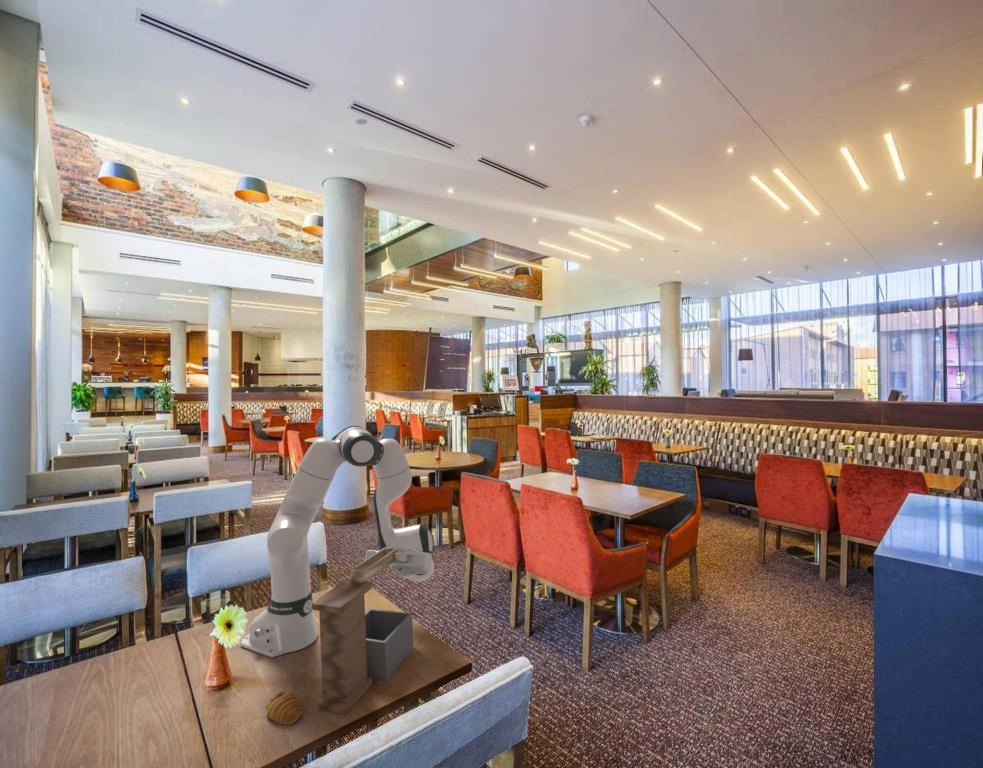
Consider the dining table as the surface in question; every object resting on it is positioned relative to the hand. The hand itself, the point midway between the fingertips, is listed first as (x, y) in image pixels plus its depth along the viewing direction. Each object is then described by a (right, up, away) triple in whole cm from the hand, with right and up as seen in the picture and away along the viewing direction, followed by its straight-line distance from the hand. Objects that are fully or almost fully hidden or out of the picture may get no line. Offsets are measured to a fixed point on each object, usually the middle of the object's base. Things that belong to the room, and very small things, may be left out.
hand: (386, 555), depth 142 cm
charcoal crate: (-1, -28, -6) cm, 28 cm away
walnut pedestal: (-6, -28, -20) cm, 35 cm away
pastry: (-18, -29, -26) cm, 43 cm away
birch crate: (-2, -2, -6) cm, 7 cm away
